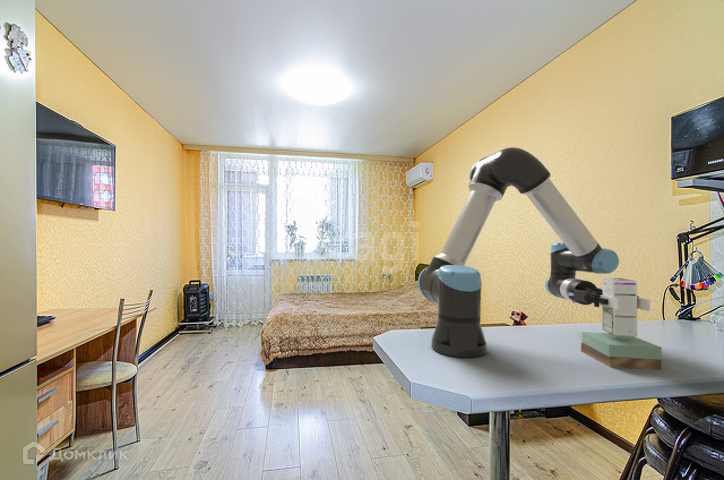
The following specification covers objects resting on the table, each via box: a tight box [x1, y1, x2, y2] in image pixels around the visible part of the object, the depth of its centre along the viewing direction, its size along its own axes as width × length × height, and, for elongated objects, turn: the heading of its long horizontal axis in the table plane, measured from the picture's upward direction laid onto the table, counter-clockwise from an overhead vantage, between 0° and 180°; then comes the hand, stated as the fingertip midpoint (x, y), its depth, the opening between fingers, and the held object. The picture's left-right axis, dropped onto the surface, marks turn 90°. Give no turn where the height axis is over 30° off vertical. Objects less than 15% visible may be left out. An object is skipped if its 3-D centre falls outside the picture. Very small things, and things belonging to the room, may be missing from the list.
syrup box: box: [602, 277, 638, 338], centre depth 88 cm, size 6×6×14 cm
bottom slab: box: [580, 342, 662, 370], centre depth 88 cm, size 12×12×3 cm
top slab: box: [581, 331, 663, 361], centre depth 88 cm, size 12×12×3 cm
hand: (633, 304), depth 83 cm, fingers closed on syrup box, 6 cm apart
